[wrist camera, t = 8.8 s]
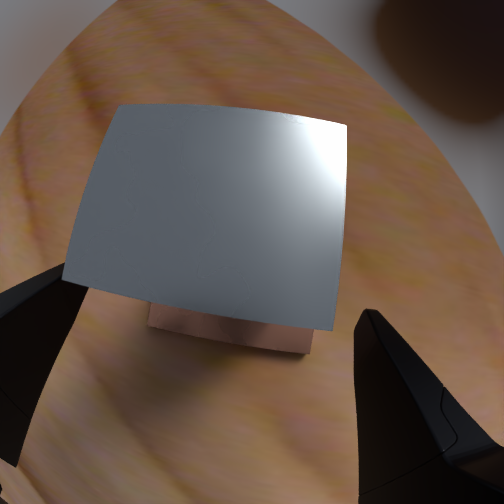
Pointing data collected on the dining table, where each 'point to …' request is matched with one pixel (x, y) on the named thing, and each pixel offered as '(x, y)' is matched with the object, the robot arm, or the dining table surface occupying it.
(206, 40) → the dining table surface
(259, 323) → the plate
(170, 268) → the block
